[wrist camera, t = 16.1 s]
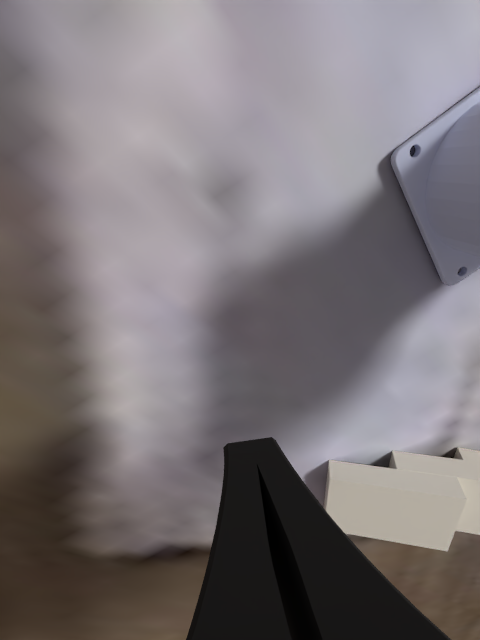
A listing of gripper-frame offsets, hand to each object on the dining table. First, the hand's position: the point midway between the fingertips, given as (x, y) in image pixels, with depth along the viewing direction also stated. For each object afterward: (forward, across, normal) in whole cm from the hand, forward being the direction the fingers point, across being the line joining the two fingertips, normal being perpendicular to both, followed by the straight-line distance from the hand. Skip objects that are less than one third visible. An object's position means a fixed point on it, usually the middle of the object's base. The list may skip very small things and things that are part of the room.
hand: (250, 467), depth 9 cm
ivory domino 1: (+9, -6, +14) cm, 17 cm away
